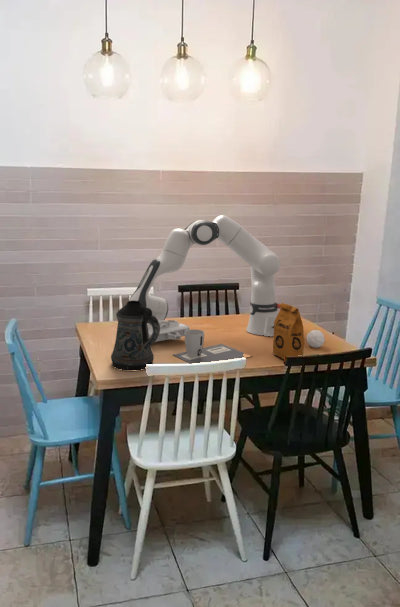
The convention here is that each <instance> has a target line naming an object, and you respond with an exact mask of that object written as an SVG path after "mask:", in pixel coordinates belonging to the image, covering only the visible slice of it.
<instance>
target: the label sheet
mask: <svg viewBox="0 0 400 607" xmlns="http://www.w3.org/2000/svg"><path fill="white" fill-rule="evenodd" d="M244 353H245V352H243V351H241V350H238V349H235V348H233V347H231V346H228V345H226V344H223V343H220V344H215V345H210V346H205V347H203V349H202V353H201V355H200V357H197V358H191V357H189V356H188V354H187V351H183V352H180V353H179V352H178V353H174V354H172V356H174V357H175V358H178V359H180V360H182V361H184V362H186V363H188V364H190V363H200V362H211V361H219V360H228V359H234V358H242V357H244V356H243V354H244Z"/></svg>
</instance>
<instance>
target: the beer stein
mask: <svg viewBox="0 0 400 607" xmlns="http://www.w3.org/2000/svg"><path fill="white" fill-rule="evenodd" d="M115 317H116V319H117V328H116V336H115V341H114V347H113V351H112V352H111V356H110V360H111V364H112V367H113V366H114V367H116V368H118V369H122V370H121V371H123V370H140V371H142V370H141V369H144V370H146V369H145V367H146V364H152V365H153V363H154V359H155V358H154V357H155V354H154V353H153V350H152V349H153V348H152V345H154V343H156V342H155V341H156V340H157V338H158V336H159V333H160V324H159V322H158V320H157V319H156V317H154V316H152V311H151V309H149V308H146V307H143V306H142V305H141V303H140V302H139V301H129V300H128V301H127V303H126V304H125V305H124V306H122V307H121V308H120V309H118V310H117V312H116V314H115ZM147 323H149V324H151V326H152V328H153V333H152V335H151V337H150V338H149V332H148V325H147ZM114 367H113V368H114ZM116 368H115V369H116ZM118 369H117V370H118Z"/></svg>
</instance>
